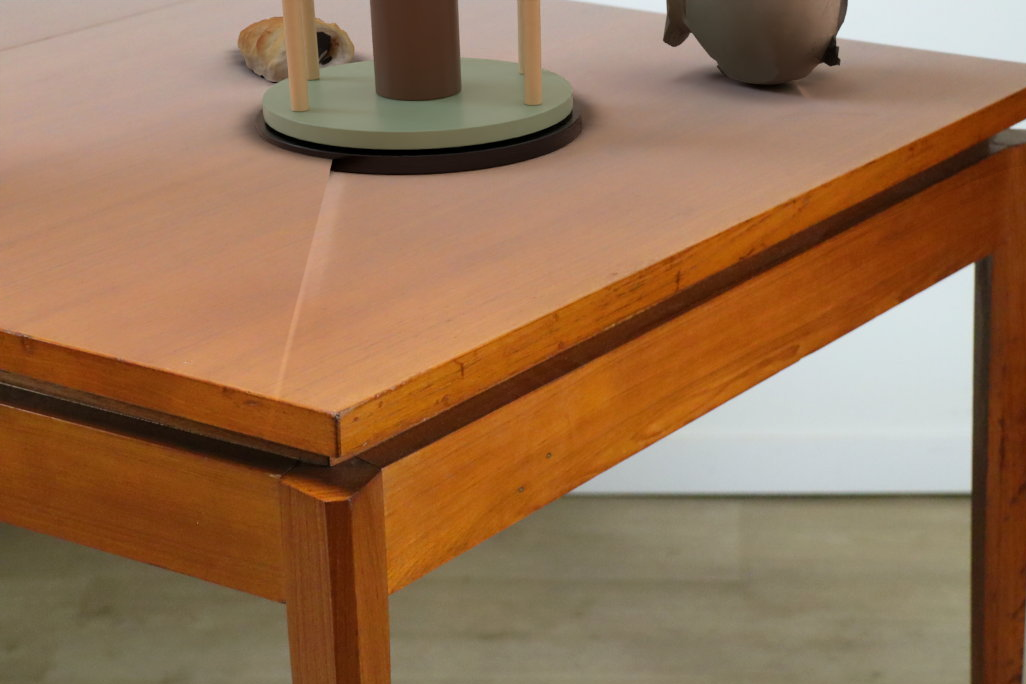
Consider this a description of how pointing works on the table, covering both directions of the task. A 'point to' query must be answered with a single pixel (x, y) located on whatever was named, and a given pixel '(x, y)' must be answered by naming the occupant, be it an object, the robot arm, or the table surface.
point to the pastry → (268, 47)
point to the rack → (414, 83)
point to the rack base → (432, 150)
